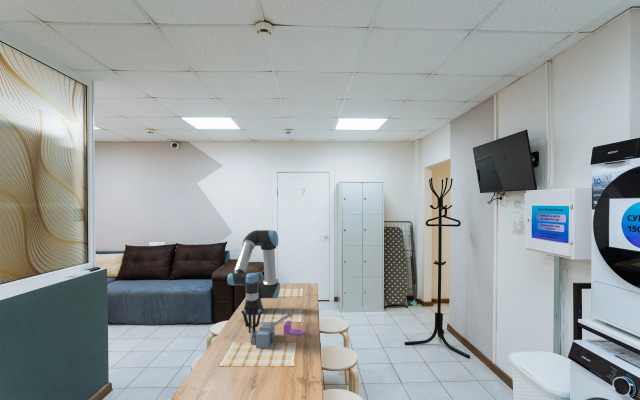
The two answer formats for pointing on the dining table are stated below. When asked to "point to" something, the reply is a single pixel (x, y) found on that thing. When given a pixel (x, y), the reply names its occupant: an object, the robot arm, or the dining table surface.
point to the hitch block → (264, 335)
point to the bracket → (292, 330)
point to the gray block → (253, 338)
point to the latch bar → (281, 320)
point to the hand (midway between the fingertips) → (252, 338)
